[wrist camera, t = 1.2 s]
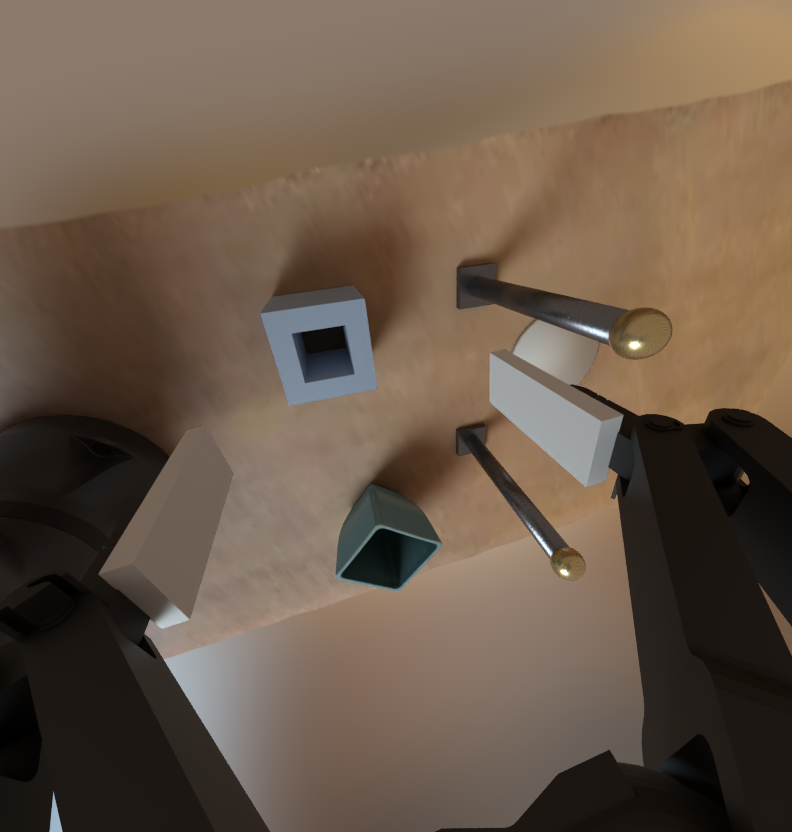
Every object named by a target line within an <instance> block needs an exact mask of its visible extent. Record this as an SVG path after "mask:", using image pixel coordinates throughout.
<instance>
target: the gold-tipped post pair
mask: <svg viewBox="0 0 792 832" xmlns="http://www.w3.org/2000/svg"><path fill="white" fill-rule="evenodd" d="M496 272H497V263H486V264H479V265H472V266H464V267H457V308H458V309H465V308H471V307H478V306H484V305H490V304H496V305H499V306H502V307H504V308H507V309H510V310H513V311H516V312H518V313H521V314H524V315H527V316H529V317H532V318H535V319H538V320H540V321H543V322H546V323H549V324H551V325H554V326H557V327H560V328H563V329H565V330H568V331H571V332H574V333H576V334H579V335H582V336H585V337H587V338H590V339H593V340H596V341H598V342H601V343H604V344H607V345H609V346H610V347H611V348H612V350H613V351H614V352H615V353H616V354H617V355H619V356H621V357H623V358H626V359H632V360H638V359H645V358H648V357H651V356H653V355H655V354H657V353H658V352H660V351H661V350H662V349H663V348H664V347H665V346H666V345H667V344H668V342H669V340H670V338H671V336H672V324H671V321H670V319H669V318H668V316H667V315H666V314H664V313H663V312H661V311H659V310H657V309H654V308H647V307H644V308H636V309H633V310H626V309H621V308H617V307H613V306H608V305H604V304H599V303H595V302H591V301H586V300H582V299H577V298H573V297H569V296H564V295H560V294H556V293H551V292H547V291H542V290H538V289H534V288H529V287H525V286H520V285H516V284H512V283H507V282H503V281H499V280H496ZM485 442H486V426H485V424H484V423H482V424H478V425H473V426H469V427H464V428H459V429H456V453H457V455H458V456H462V455H466V454H470V453H472V454H473V456H474V457H475V458H476V460H477V461H478V462H479V464H480V465H481V466H482V468H483V469H484V471H485V472H486V473H487V475H488V476H489V477H490V479H491V480H492V481H493V483H494V484H495V485H496V487H497V488H498V489H499V491H500V492H501V494H502V495H503V496H504V498H505V499H506V500H507V502H508V503H509V504H510V506H511V507H512V508H513V510H514V511H515V512H516V514H517V515H518V517H519V518H520V519H521V521H522V522H523V523H524V525H525V526H526V527H527V529H528V530H529V531H530V533H531V534H532V535H533V537H534V538H535V539H536V541H537V542H538V544H539V545H540V546H541V548H542V549H543V550H544V552H545V553H546V554H547V556H548V557H549V558H550V563H551V566H552V568H553V570H554V572H555V573H556V574H557V575H558V576H559V577H561V578H563V579H565V580H569V581H574V580H578V579H580V578H581V577H582V576H583V575H584V572H585V568H586V566H585V561H584V559H583V557H582V556H581V554H580V553H579V552H578V551H576V550H575V549H573V548H570V547H569V546H568V545H567V544H566V543H565V541H564V540H563V539H562V538H561V536H560V535H559V534H558V533H557V532H556V530H555V529H554V528H553V527H552V526H551V524H550V523H549V522H548V521H547V520H546V518H545V517H544V516H543V515H542V514H541V512H540V511H539V510H538V509H537V508H536V506H535V505H534V504H533V503H532V502H531V500H530V499H529V498H528V497H527V495H526V494H525V493H524V492H523V491H522V489H521V488H520V487H519V486H518V485H517V483H516V482H515V481H514V480H513V479H512V477H511V476H510V475H509V474H508V473H507V471H506V470H505V469H504V468H503V467H502V465H501V464H500V463H499V462H498V461H497V459H496V458H495V457H494V456H493V455H492V453H491V452H490V451H489V450H488V449H487V447H486V446H485Z"/></svg>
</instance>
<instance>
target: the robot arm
mask: <svg viewBox="0 0 792 832" xmlns="http://www.w3.org/2000/svg"><path fill="white" fill-rule="evenodd" d="M490 403H491V404H492V405H493V406H494V407H496V408H497V409H498V410H499V411H500V412H501V413H502V414H503V415H505V416H506V417H507V418H508V419H509V420H510V421H511V422H513V423H514V424H515V425H516V426H517V427H518V428H519V429H520V430H522V431H523V432H524V433H525V434H526V435H527V436H528V437H530V438H531V439H532V440H533V441H534V442H535V443H536V444H537V445H539V446H540V447H541V448H542V449H543V450H544V451H545V452H547V453H548V454H549V455H550V456H551V457H552V458H553V459H554V460H556V461H557V462H558V463H559V464H560V465H561V466H562V467H564V468H565V469H566V470H567V471H568V472H569V473H570V474H571V475H573V476H574V477H575V478H576V479H577V480H578V481H579V482H581V483H582V484H583V485H584V486H585V487H589V486H592V485H595V484H598V483H601V482H604V481H605V480H606V477H607V473H608V469H609V468H611V469H612V470H613V471H615V472H616V473H617V474H618V476H617V479H616V482H615V486H614V489H613V492H612V496H611V498H613V499H615V497H616V494H617V496H618V503H619V510H620V519H621V526H622V534H623V542H624V549H625V557H626V565H627V573H628V580H629V588H630V596H631V604H632V611H633V619H634V627H635V635H636V642H637V650H638V658H639V665H640V673H641V681H642V689H643V696H644V721H643V727H642V753H643V763H644V767H642V766H639V765H633V764H627V763H617V762H616V760H615V758H614V756H613V755H612V753H611V751H610V750H608V751H606V752H604V753H602V754H599V755H597V756H595V757H593V758H591V759H589V760H587V761H585V762H582V763H581V764H578V765H576V766H574V767H572V768H570V769H568V770H565V771H564V772H561V773H559V774H558V775H557V776H556V777H555V778H554V779H553V780H552V782H551V783H550V784H549V785H548V786H547V788H546V789H545V790H544V791H543V792H542V793H541V794H540V795H539V797H538V798H537V799H536V800H535V801H534V802H533V804H532V805H531V806H530V807H529V808H528V809H527V811H526V812H525V813H524V814H523V815H522V816H521V817H520V818H519V820H518V821H517V822H516V823H515V824H514V825H512V826H510V827H507V828H457V829H456V828H453V829H452V828H451V829H440V830H438V831H436V832H792V656H791V654H790V651H789V649H788V647H787V645H786V643H785V640H784V638H783V636H782V634H781V632H780V629H779V627H778V625H777V623H776V621H775V619H774V616H773V614H772V612H771V610H770V608H769V605H768V603H767V601H766V599H765V597H764V595H763V592H762V590H761V588H760V586H759V584H760V585H761V586H762V588H763V589H764V591H765V592H766V593H767V595H768V596H769V597H770V599H771V600H772V601H773V602H774V604H775V605H776V606H777V608H778V609H779V610H780V612H781V613H782V614H783V616H784V617H785V618H786V619H787V621H788V622H789V623H790V625H791V626H792V438H791V437H789V436H788V435H787V434H785V433H784V432H783V431H781V430H780V429H778V428H777V427H775V426H774V425H773V424H772V423H770V422H769V421H767V420H766V419H764V418H762V417H761V416H759V415H756V414H753V413H750V412H748V411H745V410H740V409H728V408H722V409H715V410H712V411H710V412H709V414H708V416H707V419H706V421H705V423H702V424H687V425H684V424H683V423H682V422H680V421H678V420H676V419H674V418H671V417H668V416H663V415H657V414H645V415H641V416H638V415H636V414H634V413H632V412H630V411H629V410H627V409H625V408H623V407H621V406H619V405H617V404H615V403H613V402H612V401H610V400H606V398H604V397H602V396H600V395H597V394H596V393H595V392H593V391H591V390H589V389H587V388H584V387H580V386H577V385H573V384H571V385H568V384H567V383H565V382H563V381H561V380H559V379H558V378H556V377H554V376H552V375H550V374H549V373H547V372H545V371H543V370H541V369H540V368H538V367H536V366H534V365H532V364H530V363H529V362H527V361H525V360H523V359H521V358H520V357H518V356H516V355H514V354H512V353H511V352H509V351H507V350H505V349H503V350H499V351H495V352H491V353H490ZM744 472H745V473H746V474H747V475H748V478H749V481H750V484H749V485H747V484H745V483H744V482H743V481H742V480H741V479H740V478H741V477H742V475H743V473H744ZM233 474H234V473H233V472H232V470H231V468H230V466H229V465H228V463H227V461H226V460H225V458H224V456H223V454H222V453H221V451H220V449H219V447H218V446H217V444H216V442H215V441H214V439H213V437H212V435H211V434H210V432H209V430H208V429H207V427H206V425H204V426H200V427H196V428H192V429H188V430H186V432H185V433H184V435H183V437H182V438H181V440H180V441H179V443H178V445H177V446H176V448H175V450H174V451H173V453H172V454H171V456H170V458H168V457H167V456H166V455H165V453H164V452H163V451H161V450H160V449H159V448H158V447H157V446H156V445H154V444H153V443H152V442H150V441H149V440H147V439H146V438H144V437H142V436H141V435H139V434H137V433H135V432H133V431H131V430H129V429H126V428H124V427H121V426H119V425H116V424H113V423H110V422H106V421H102V420H98V419H93V418H87V417H79V416H46V417H39V418H34V419H30V420H26V421H23V422H20V423H18V424H15V425H13V426H11V427H9V428H7V429H6V430H4V431H3V432H1V433H0V832H49V830H50V820H51V808H52V799H53V791H54V795H55V800H56V804H57V808H58V813H59V817H60V822H61V826H62V831H63V832H270V831H269V829H268V828H267V826H266V824H265V823H264V821H263V820H262V818H261V816H260V815H259V813H258V811H257V810H256V808H255V807H254V805H253V803H252V802H251V800H250V798H249V797H248V795H247V794H246V792H245V791H244V789H243V787H242V786H241V784H240V782H239V781H238V779H237V777H236V776H235V775H234V773H233V771H232V769H231V768H230V766H229V765H228V764H227V761H226V760H225V758H224V756H223V755H222V753H221V752H220V751H219V749H218V747H217V745H216V744H215V742H214V740H213V739H212V737H211V736H210V734H209V732H208V731H207V729H206V727H205V726H204V724H203V723H202V721H201V719H200V718H199V716H198V715H197V713H196V711H195V710H194V708H193V706H192V705H191V703H190V702H189V700H188V698H187V697H186V696H185V694H184V692H183V690H182V689H181V687H180V685H179V684H178V682H177V681H176V679H175V677H174V676H173V674H172V673H171V671H170V669H169V668H168V666H167V665H166V663H165V661H164V660H163V658H162V656H161V655H160V653H159V652H158V650H157V648H156V647H155V645H154V643H153V642H152V640H151V639H150V638H149V637H148V636H146V635H145V634H144V632H145V630H146V627H147V625H148V622H149V620H150V619H151V620H152V621H153V622H154V623H155V624H156V625H158V626H159V627H160V628H161V629H164V628H167V627H170V626H173V625H176V624H179V623H182V622H184V621H187V620H190V617H191V614H192V611H193V607H194V604H195V601H196V597H197V594H198V591H199V587H200V584H201V581H202V577H203V574H204V570H205V567H206V564H207V560H208V557H209V554H210V550H211V547H212V544H213V540H214V537H215V534H216V530H217V527H218V524H219V520H220V517H221V514H222V510H223V507H224V504H225V500H226V497H227V494H228V490H229V487H230V484H231V480H232V477H233ZM758 583H759V584H758Z"/></svg>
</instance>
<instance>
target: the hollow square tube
mask: <svg viewBox="0 0 792 832" xmlns="http://www.w3.org/2000/svg"><path fill="white" fill-rule="evenodd" d="M260 315H261V318H262V321H263V324H264V327H265V330H266V334H267V337H268V340H269V343H270V346H271V349H272V353H273V356H274V359H275V362H276V365H277V368H278V372H279V375H280V378H281V381H282V384H283V387H284V391H285V394H286V397H287V400H288V403H289V406H291V405H296V404H301V403H307V402H312V401H317V400H322V399H328V398H333V397H338V396H343V395H349V394H354V393H359V392H365V391H370V390H375V389H377V382H376V375H375V368H374V361H373V353H372V346H371V339H370V332H369V325H368V318H367V311H366V304H365V298H364V297H363V296H362V295H361V294H360V292H359V291H358V290H357V289H356V288H355V287H354V285H352V286H345V287H338V288H331V289H323V290H316V291H309V292H302V293H294V294H287V295H280V296H273V297H271V299H270V300H269V302H268V303H267V304H266V306H265V307H264V309H263V310H262V312H261V313H260ZM337 326H343V332H344V337H345V343H346V348H340V349H334V350H328V351H322V352H316V353H310V354H306V350H305V346H304V342H303V338H302V334H301V332H305V331H312V330H318V329H324V328H331V327H337Z"/></svg>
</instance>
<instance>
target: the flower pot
mask: <svg viewBox="0 0 792 832" xmlns="http://www.w3.org/2000/svg"><path fill="white" fill-rule="evenodd" d="M441 546H442V542H441V541H440V539H439V537H438V535H437V534H436V532H435V530H434V528H433V527H432V525H431V523H430V522H429V520H428V518H427V517H426V515H425V514H424V512H423V511H422V510H421V509H420V508H419V507H418V506H417V505H416V504H415V503H414V502H412V501H411V500H409V499H408V498H406V497H405V496H403V495H401V494H398V493H396V492H393V491H390V490H388V489H385V488H382V487H380V486H377V485H374V484H371V485H370V486H369V487H368V488H367V489H366V491H365V492H364V493H363V495H362V496H361V497H360V499H359V500H358V501H357V503H356V504H355V505H354V507H353V508H352V509H351V511H350V513H349V514H348V516H347V518H346V520H345V522H344V524H343V526H342V529H341V532H340V536H339V541H338V550H337V563H336V579H337V580H341V581H346V582H352V583H357V584H362V585H367V586H372V587H377V588H382V589H387V590H392V591H399V590H401V589H402V588H403V587H404V586H405V585H406V584H407V583H408V582H409V581H410V580H411V579H412V578H413V576H414V575H415V574H416V573H417V572H418V571H419V570H420V569H421V568H422V567H423V566H424V565H425V564H426V562H427V561H428V560H430V558H431V557H432V556H433V555H434V554H435V553H436V552H437V551H438V550H439V549H440V547H441Z"/></svg>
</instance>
